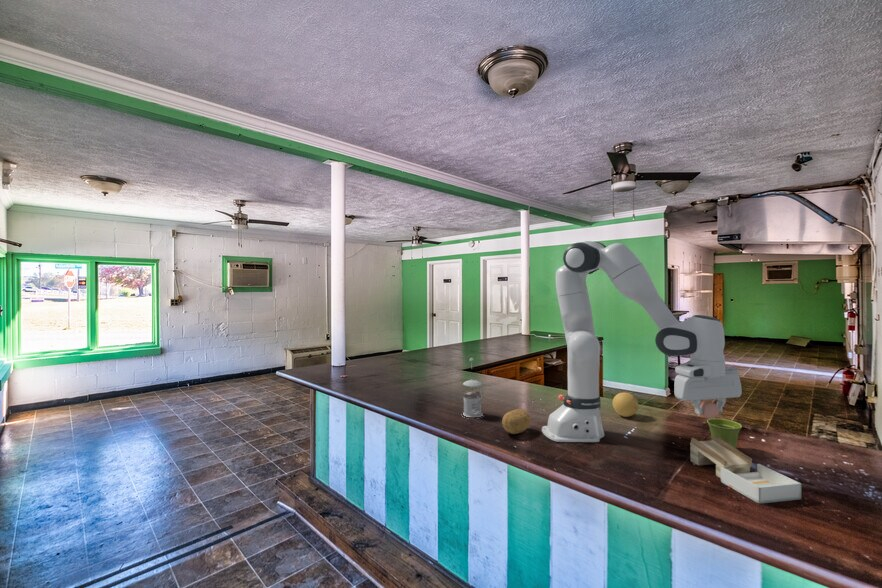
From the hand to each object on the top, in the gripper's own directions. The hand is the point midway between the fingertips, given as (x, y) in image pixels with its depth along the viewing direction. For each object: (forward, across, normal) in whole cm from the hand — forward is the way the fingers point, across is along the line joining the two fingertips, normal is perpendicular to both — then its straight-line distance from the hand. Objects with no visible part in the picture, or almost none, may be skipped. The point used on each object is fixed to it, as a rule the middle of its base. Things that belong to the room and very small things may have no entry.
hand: (708, 413), depth 119 cm
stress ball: (+15, -1, -44) cm, 47 cm away
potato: (+15, +50, -35) cm, 63 cm away
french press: (+15, +61, -59) cm, 86 cm away
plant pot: (+16, -13, -8) cm, 22 cm away
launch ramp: (+15, 0, +4) cm, 16 cm away
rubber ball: (+2, 0, 0) cm, 2 cm away
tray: (+15, 0, +16) cm, 22 cm away
